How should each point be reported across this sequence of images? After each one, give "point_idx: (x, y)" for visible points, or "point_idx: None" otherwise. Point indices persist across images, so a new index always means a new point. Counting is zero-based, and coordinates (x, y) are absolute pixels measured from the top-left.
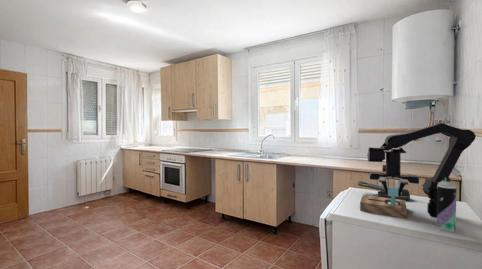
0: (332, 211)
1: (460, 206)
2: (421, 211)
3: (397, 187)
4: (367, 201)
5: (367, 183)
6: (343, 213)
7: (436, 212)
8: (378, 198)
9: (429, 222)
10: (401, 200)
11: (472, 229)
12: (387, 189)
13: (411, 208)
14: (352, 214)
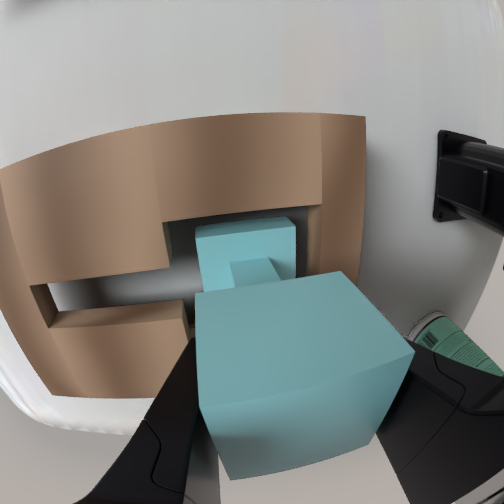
0: (22, 404)
1: (496, 16)
2: (410, 140)
3: (399, 372)
4: (68, 367)
5: None
6: (55, 409)
7: (467, 218)
8: (89, 219)
9: (400, 312)
10: (336, 146)
11: (482, 281)
12: (217, 454)
13: (364, 96)
14: (81, 408)
